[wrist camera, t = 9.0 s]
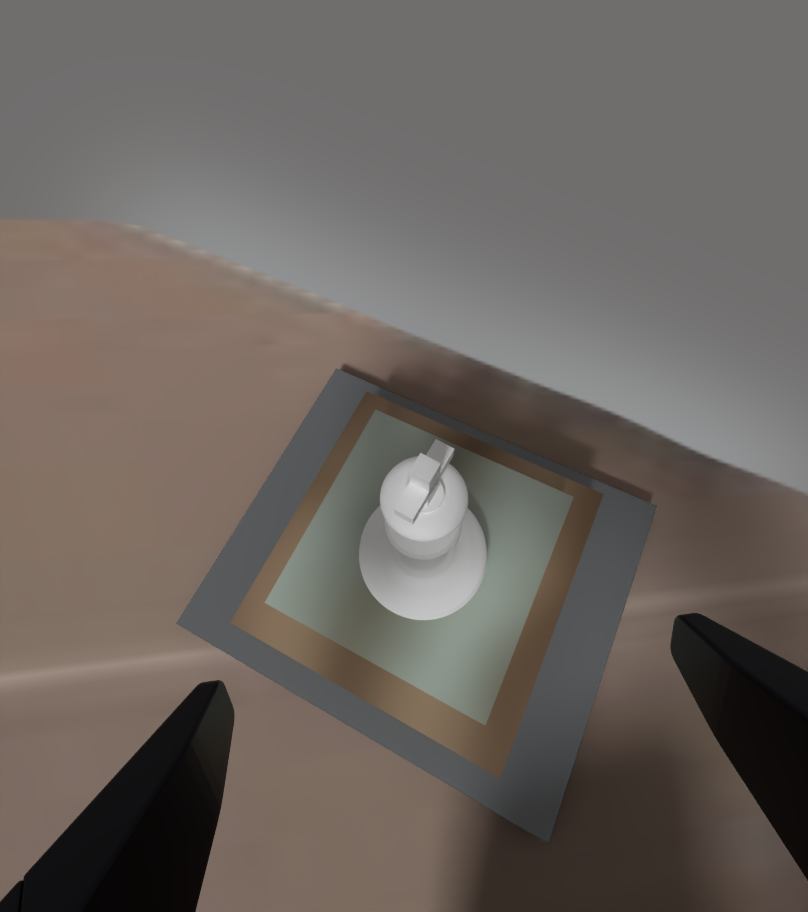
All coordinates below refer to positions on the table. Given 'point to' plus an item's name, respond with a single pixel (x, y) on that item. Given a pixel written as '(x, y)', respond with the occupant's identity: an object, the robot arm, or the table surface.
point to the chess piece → (423, 539)
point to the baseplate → (511, 796)
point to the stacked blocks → (439, 640)
